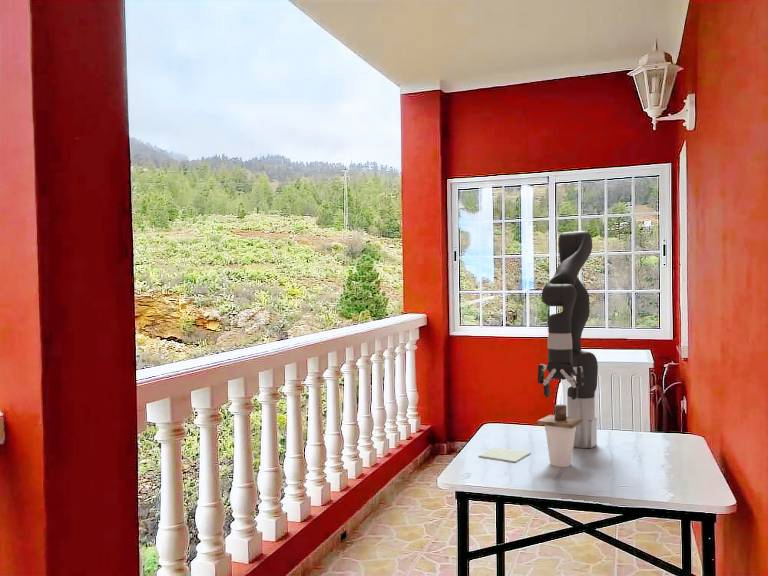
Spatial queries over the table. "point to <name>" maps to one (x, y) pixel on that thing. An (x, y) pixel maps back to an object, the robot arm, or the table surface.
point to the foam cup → (560, 445)
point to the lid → (560, 419)
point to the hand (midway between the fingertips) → (560, 398)
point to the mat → (505, 454)
